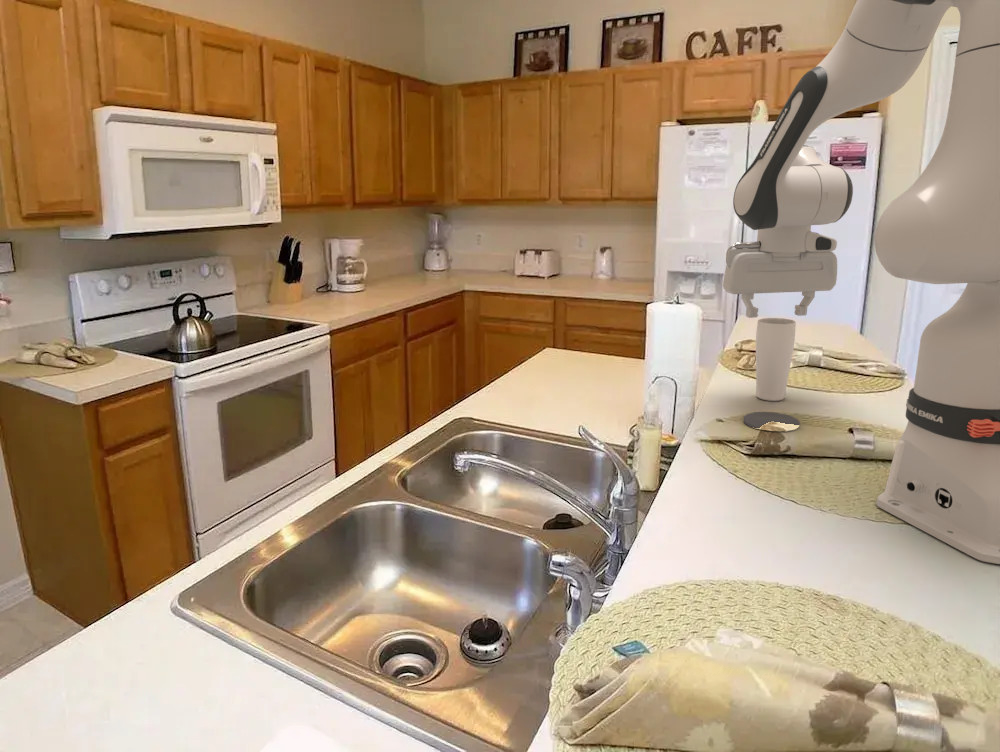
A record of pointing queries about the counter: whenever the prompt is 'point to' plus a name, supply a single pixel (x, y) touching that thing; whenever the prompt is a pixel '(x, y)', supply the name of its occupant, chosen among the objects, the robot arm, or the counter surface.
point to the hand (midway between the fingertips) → (776, 316)
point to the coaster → (768, 419)
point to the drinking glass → (773, 357)
